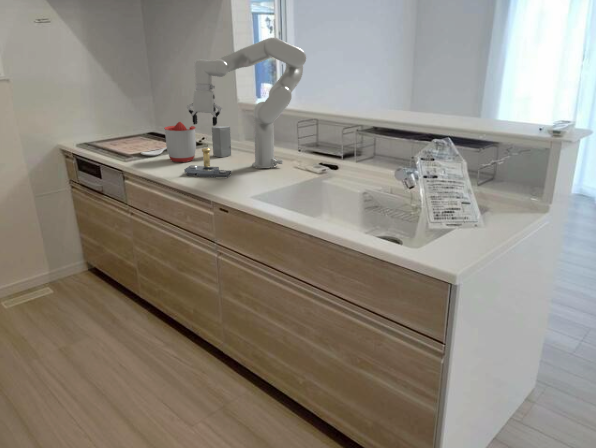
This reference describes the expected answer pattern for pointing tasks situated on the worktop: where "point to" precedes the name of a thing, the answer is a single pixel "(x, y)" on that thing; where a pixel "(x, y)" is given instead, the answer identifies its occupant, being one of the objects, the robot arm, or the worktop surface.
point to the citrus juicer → (180, 142)
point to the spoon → (153, 152)
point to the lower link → (216, 174)
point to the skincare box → (221, 141)
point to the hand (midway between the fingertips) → (204, 124)
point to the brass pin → (206, 156)
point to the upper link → (200, 170)
